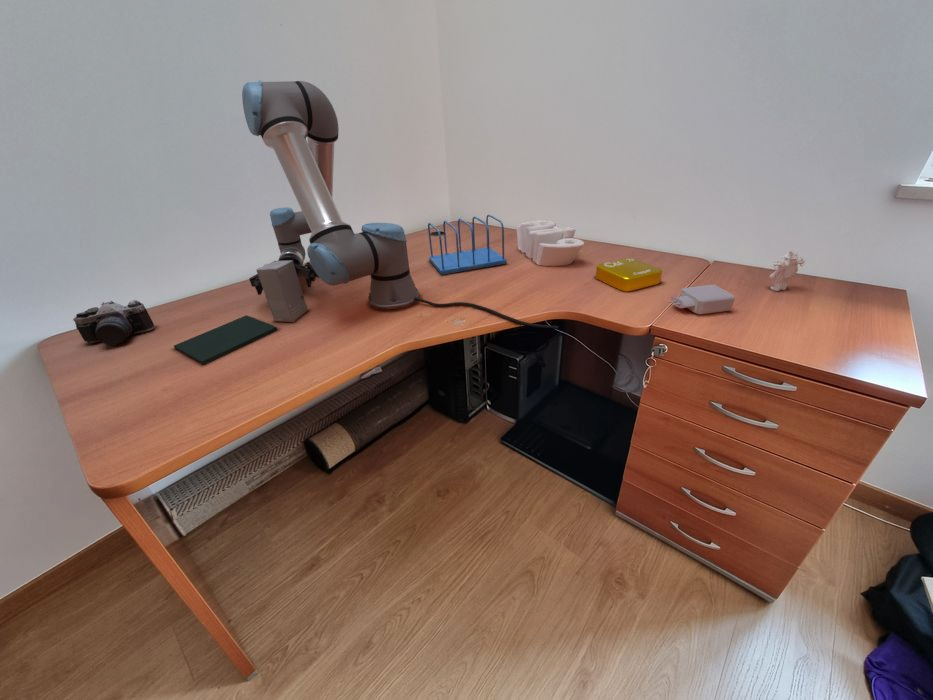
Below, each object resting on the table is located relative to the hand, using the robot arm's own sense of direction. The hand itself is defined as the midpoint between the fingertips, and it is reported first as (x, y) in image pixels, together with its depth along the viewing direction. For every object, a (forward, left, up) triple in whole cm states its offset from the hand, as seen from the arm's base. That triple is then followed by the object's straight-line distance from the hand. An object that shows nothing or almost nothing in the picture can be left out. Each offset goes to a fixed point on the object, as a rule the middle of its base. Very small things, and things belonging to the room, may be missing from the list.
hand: (283, 286), depth 114 cm
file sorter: (-22, -61, -9) cm, 65 cm away
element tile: (-78, -70, -9) cm, 105 cm away
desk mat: (+2, +19, -8) cm, 21 cm away
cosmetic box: (-1, +1, -9) cm, 9 cm away
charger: (-99, -58, -9) cm, 115 cm away
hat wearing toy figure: (-118, -83, -9) cm, 145 cm away
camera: (+29, +34, -9) cm, 45 cm away
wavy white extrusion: (-44, -83, -9) cm, 94 cm away
